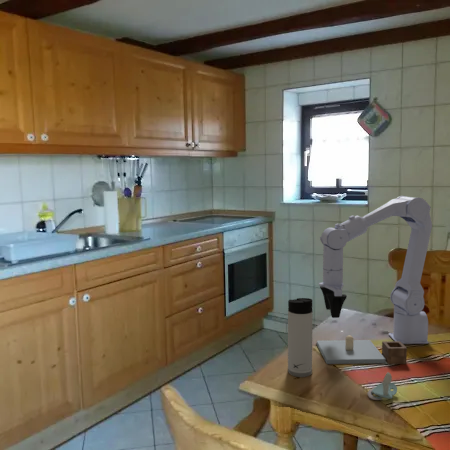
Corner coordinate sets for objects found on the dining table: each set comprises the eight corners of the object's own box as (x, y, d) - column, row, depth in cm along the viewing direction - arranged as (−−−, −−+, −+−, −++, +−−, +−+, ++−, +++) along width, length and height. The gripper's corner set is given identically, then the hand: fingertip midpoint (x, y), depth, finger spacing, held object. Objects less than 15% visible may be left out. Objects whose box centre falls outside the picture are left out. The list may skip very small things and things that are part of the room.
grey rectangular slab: (369, 343, 140) (370, 326, 139) (385, 363, 126) (386, 344, 125) (316, 344, 140) (316, 327, 139) (326, 363, 126) (326, 345, 125)
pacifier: (363, 399, 107) (389, 406, 104) (362, 373, 107) (389, 379, 103) (374, 387, 113) (399, 393, 109) (373, 362, 112) (399, 368, 109)
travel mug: (298, 380, 117) (298, 303, 114) (283, 370, 123) (283, 296, 120) (317, 374, 120) (318, 299, 117) (302, 365, 126) (302, 293, 123)
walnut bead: (399, 356, 131) (400, 341, 130) (406, 363, 126) (406, 348, 125) (381, 356, 131) (382, 341, 130) (387, 363, 126) (388, 348, 125)
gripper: (314, 263, 144) (314, 306, 146) (324, 274, 129) (324, 321, 131) (337, 263, 144) (337, 305, 145) (349, 274, 129) (348, 321, 131)
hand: (332, 313), depth 138 cm, fingers open, 7 cm apart
